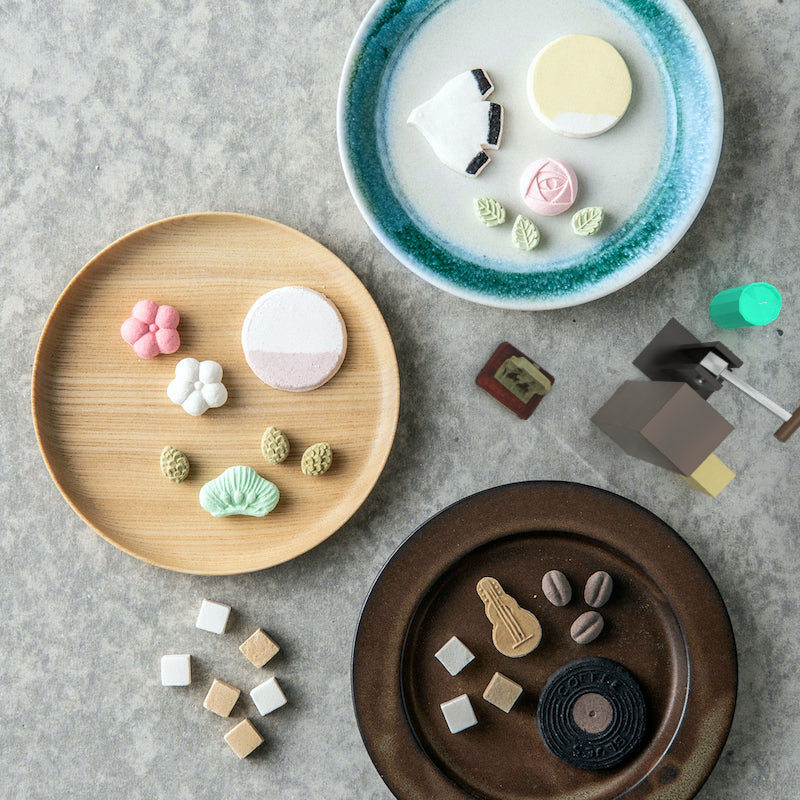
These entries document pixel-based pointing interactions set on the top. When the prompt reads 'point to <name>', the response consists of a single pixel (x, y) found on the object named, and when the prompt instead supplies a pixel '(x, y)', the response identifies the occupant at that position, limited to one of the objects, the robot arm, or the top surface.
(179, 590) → the top surface
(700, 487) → the butter
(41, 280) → the top surface
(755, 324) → the candle
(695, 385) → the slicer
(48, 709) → the top surface
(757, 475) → the top surface
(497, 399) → the sculpture
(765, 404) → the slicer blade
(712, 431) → the stand
